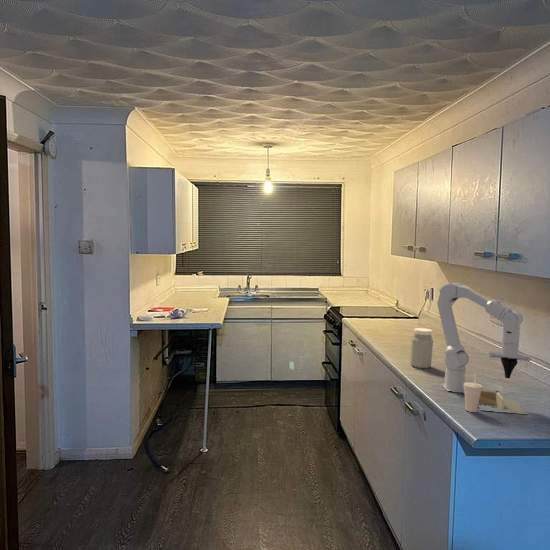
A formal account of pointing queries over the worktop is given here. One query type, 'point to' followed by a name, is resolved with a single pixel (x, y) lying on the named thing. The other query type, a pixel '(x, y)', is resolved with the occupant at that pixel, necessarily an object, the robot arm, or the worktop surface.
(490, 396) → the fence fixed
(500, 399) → the fence panel
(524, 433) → the worktop surface
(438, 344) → the worktop surface
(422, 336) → the jar
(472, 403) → the smoothie
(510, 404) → the mat
